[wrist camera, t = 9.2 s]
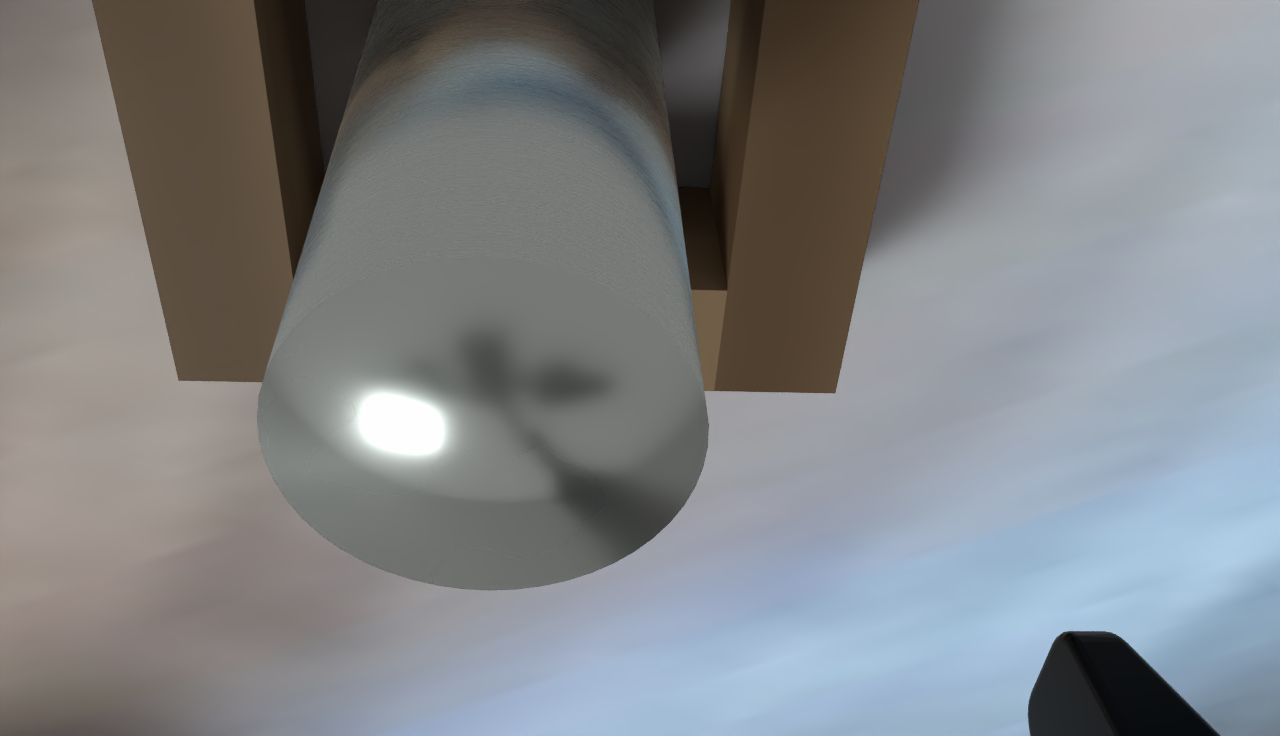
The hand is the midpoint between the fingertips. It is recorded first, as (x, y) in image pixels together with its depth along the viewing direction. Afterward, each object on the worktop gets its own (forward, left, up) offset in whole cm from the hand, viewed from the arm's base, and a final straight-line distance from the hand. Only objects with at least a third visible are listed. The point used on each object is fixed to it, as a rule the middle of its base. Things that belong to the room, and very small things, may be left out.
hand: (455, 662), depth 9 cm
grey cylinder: (0, 0, -13) cm, 13 cm away
